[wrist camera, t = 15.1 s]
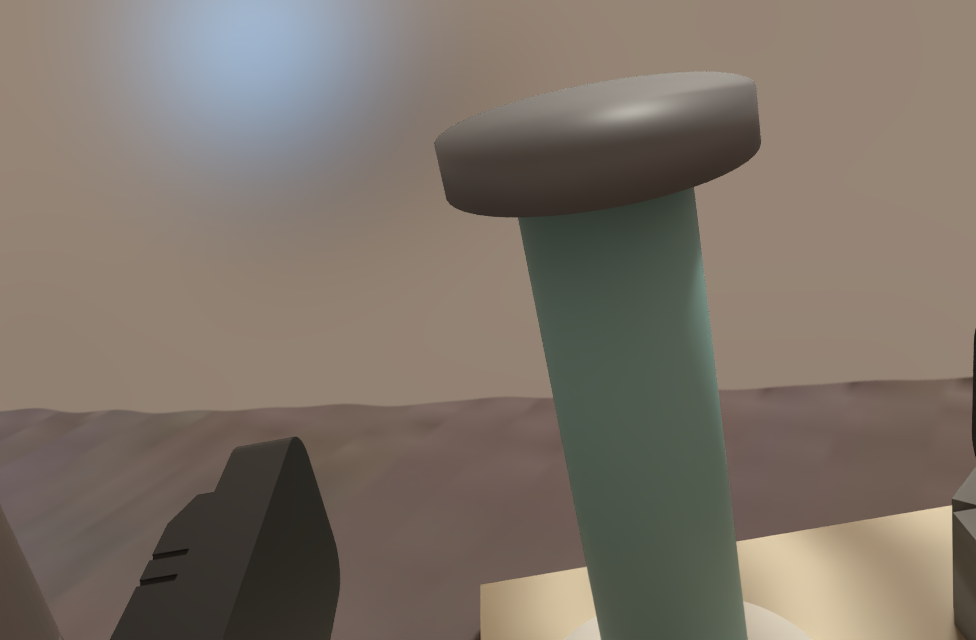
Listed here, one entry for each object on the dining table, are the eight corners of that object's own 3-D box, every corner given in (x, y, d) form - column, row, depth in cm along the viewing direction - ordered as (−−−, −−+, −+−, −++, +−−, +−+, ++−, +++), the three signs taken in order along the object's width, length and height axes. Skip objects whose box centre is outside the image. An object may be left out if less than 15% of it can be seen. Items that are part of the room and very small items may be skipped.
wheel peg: (575, 825, 24) (425, 181, 17) (555, 635, 30) (440, 114, 24) (850, 783, 23) (802, 106, 17) (769, 600, 30) (712, 58, 23)
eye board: (493, 1024, 22) (442, 861, 20) (488, 617, 35) (457, 493, 32) (1690, 862, 20) (1772, 663, 18) (1212, 497, 33) (1227, 357, 31)
